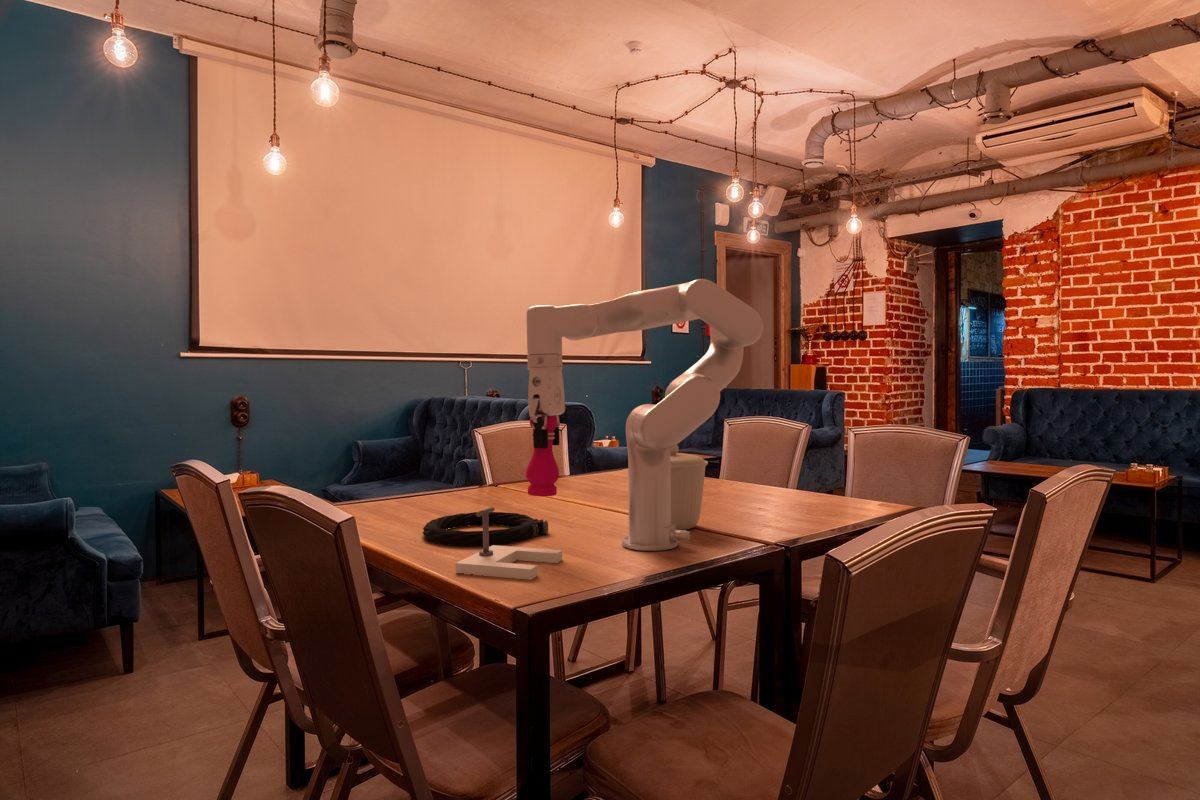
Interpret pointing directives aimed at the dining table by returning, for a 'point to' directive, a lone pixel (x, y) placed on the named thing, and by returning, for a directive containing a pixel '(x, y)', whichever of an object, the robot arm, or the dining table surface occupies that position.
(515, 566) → the u-shaped stand
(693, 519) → the canister
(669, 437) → the robot arm
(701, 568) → the dining table surface
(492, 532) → the cable lock
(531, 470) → the pepper mill
